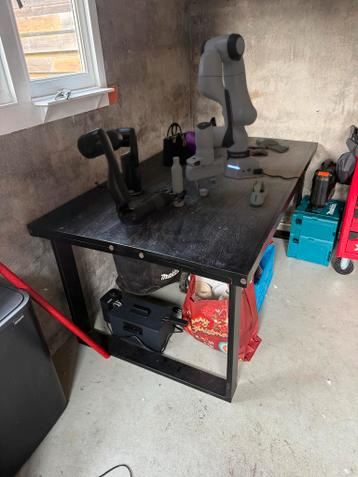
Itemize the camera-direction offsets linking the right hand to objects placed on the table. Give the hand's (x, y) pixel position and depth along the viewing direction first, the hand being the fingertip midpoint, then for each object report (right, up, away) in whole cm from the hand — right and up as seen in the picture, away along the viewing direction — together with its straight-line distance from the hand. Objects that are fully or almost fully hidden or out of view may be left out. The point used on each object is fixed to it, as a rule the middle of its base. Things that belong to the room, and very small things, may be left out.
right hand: (206, 185), depth 164 cm
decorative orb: (-5, +34, +69) cm, 78 cm away
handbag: (-15, +24, +53) cm, 60 cm away
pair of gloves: (+44, +35, +66) cm, 86 cm away
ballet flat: (+25, -6, -4) cm, 26 cm away
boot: (+14, +45, +86) cm, 98 cm away
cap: (-1, -2, +2) cm, 3 cm away
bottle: (-14, -10, -6) cm, 18 cm away
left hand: (-12, -4, -8) cm, 15 cm away
